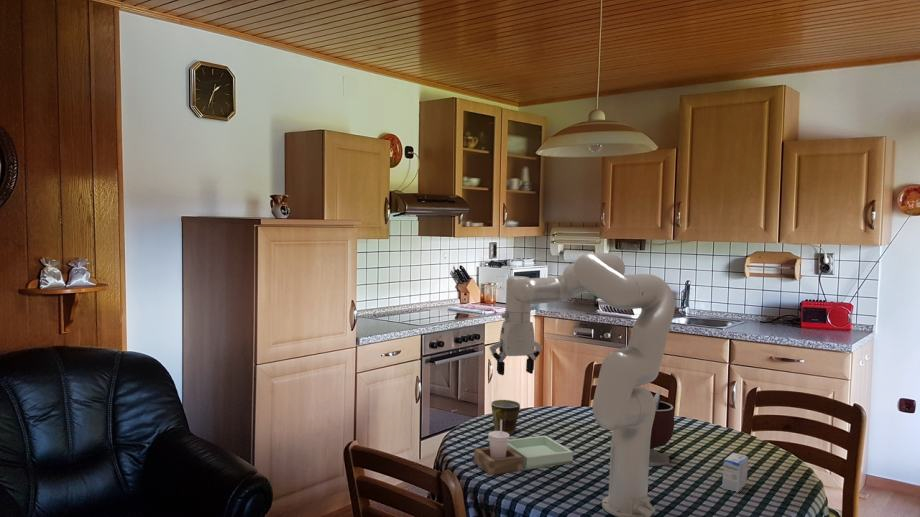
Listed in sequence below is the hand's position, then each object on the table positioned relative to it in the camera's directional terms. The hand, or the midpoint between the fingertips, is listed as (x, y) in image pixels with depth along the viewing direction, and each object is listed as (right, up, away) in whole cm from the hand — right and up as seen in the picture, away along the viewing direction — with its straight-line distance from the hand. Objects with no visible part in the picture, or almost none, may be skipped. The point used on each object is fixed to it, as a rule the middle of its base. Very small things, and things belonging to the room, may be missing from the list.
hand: (515, 373), depth 195 cm
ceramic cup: (-2, -26, +27) cm, 37 cm away
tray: (+7, -27, +5) cm, 28 cm away
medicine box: (+60, -30, -14) cm, 69 cm away
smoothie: (-6, -27, -4) cm, 28 cm away
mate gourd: (+43, -28, +7) cm, 52 cm away
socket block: (-6, -27, -4) cm, 28 cm away
